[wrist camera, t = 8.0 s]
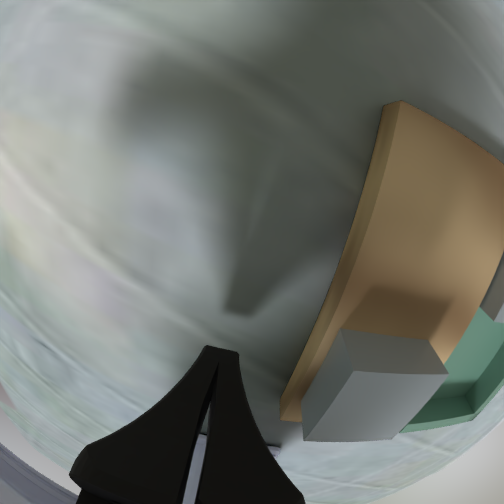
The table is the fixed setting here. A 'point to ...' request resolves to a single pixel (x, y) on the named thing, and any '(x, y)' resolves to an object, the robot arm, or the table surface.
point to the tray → (466, 377)
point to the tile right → (495, 295)
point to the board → (412, 243)
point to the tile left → (369, 387)
